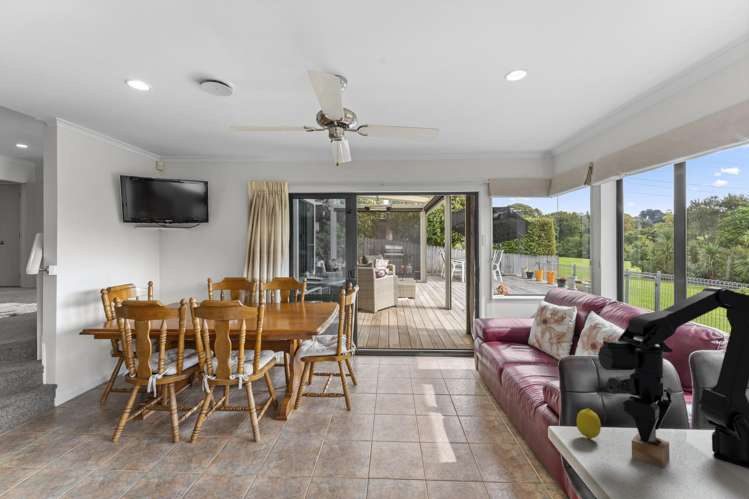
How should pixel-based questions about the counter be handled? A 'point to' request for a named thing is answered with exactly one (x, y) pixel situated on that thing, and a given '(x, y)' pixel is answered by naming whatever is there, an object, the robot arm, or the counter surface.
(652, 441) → the peg
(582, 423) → the lemon
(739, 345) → the robot arm
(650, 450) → the block with square hole
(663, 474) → the counter surface
